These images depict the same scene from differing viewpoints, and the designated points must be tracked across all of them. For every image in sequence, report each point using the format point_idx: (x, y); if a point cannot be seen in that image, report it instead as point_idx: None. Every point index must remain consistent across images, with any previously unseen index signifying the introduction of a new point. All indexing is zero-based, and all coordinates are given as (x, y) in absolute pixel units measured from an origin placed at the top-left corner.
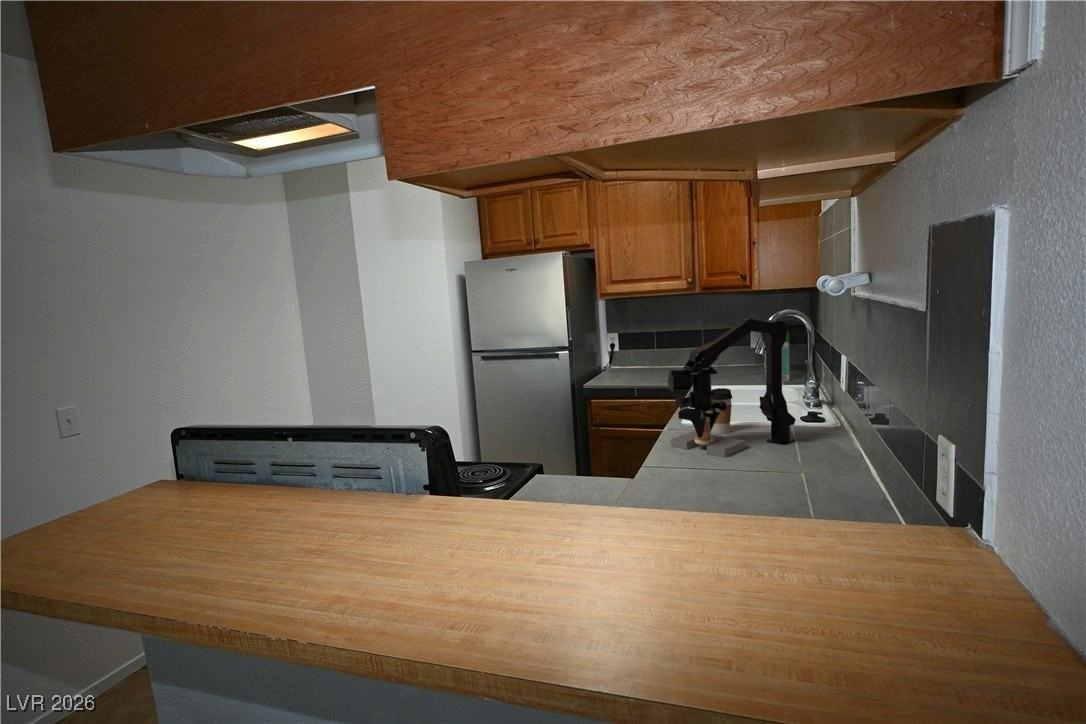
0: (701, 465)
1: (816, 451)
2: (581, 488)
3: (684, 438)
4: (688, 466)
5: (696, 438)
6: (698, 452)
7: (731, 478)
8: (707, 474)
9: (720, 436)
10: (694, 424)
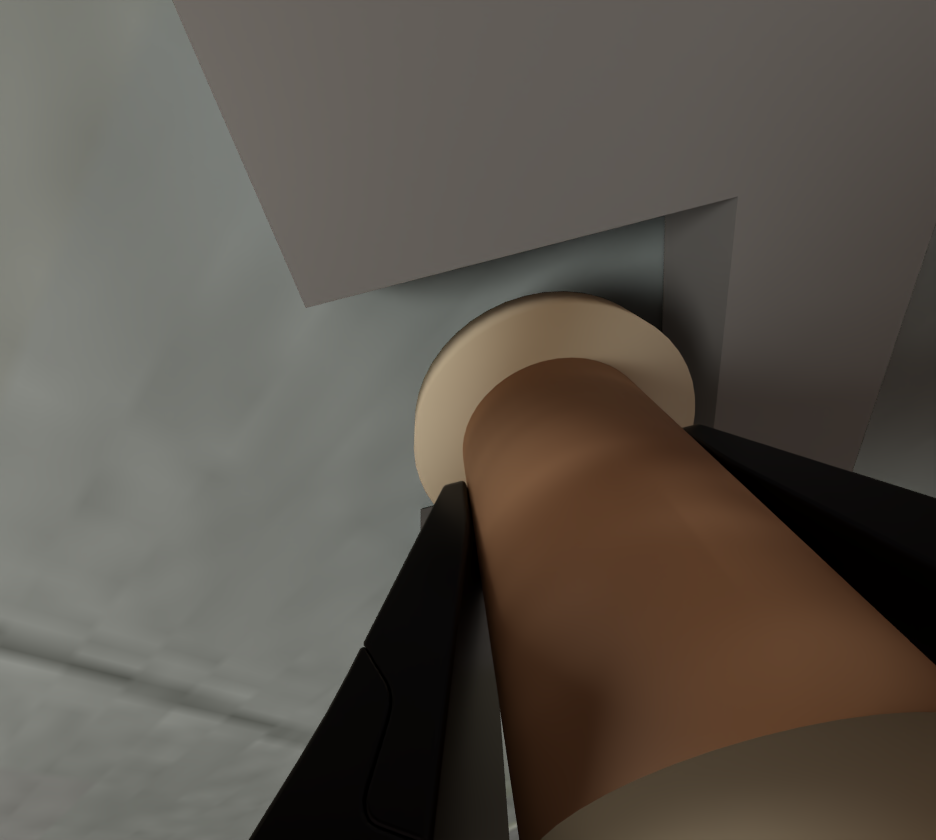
0: (202, 660)
1: None
2: None
3: (426, 41)
4: (90, 643)
5: (498, 356)
6: (382, 439)
7: (250, 796)
8: (157, 750)
9: (866, 391)
10: (316, 808)
